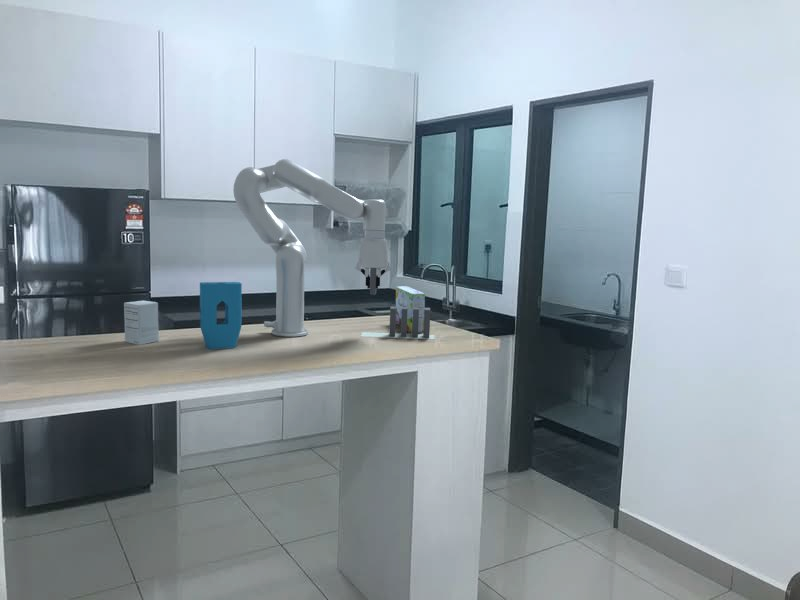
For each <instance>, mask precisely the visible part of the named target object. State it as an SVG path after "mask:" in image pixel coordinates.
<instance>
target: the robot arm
mask: <svg viewBox="0 0 800 600" xmlns="http://www.w3.org/2000/svg"><path fill="white" fill-rule="evenodd" d="M285 187H286V188H288V189H289V190H292V191H294V192H295V193H296V194H299V195H301V196H302V197H304V198H306V199H308V200H310V201H312V202H313V203H316V204H318V205H321V206H322V207H325V208H327V209H328V210H331V211H332V212H334V213H335V214H338V216H341V217H342V218H345V219H346V220H350V221H358V220H363V226H362V227H363V230H362V231H358V236H361V237H362V238H361V239H360V241H359V248H358V249H359V250H358V261H357V264H356V266H355V267H354V269H355V270H356V271H358V272H361V274H363V275H364V277H365V286H366V288H367V289H370V268H377V277H376V290H377V289H378V288H379V287H380V286H381V277H382V276H383V275H384V274H385V273H388V272H390V271H391V270H392V268H391V265H390V262H389V247H388V239H386V213H387V212H386V210H387V208H386V204H387V203H386V201H385V200H383V199H374V198H373V199H372V198H371V199H359V198H356V197H355V196H352V195H351V194H349V193H347V192H346V191H343V190H342V189H340V188H339V187H336V186H335V185H333V184H331V183H330V182H329V181H327V180H326V179H325V178H323V177H321V176H319V175H317V174H316V173H314V172H312V171H310V170H309V169H307V168H304V167H303V166H302V165H299V164H297V163H296V162H295V161H292V160H290V159H288V158H287V159H285V158H283V159H279V160H278V161H277V162H275V164H273V165H268V166H264V167H260V168H259V167H258V168H257V167H252V166H248V167H245V168H242V169H241V171H239V172H238V174H237V175H236V178H235V180H234V183H233V197H234V201H235V203H236V205H237V207H238V208H239V210H240V211H241V213H242V214H243V216H244V217H245V218H246V220H247V221H248V223H249V224H250V226H251V227H252V228H253V229H254V231H255V233H256V234H257V236H258V237H259V239H260V240H261V241H262V242H263V243H264V244H265V245H268V246H270V248H271V249H272V250H273V252H274V253H275V254H276V256H275V272H276V273H275V274H276V275H275V276H276V288H275V289H276V295H275V296H276V297H275V298H276V303H275V305H276V307H275V308H276V309H275V310H276V311H275V312H276V314H275V315H276V316H275V317H276V318H275V320H273V321H263V325H264V327H265V328H272V330H271V335H274V336H276V337H287V338H288V337H291V338H292V337H303V336H307V335H308V334H309V330H308V329H306V328H304V327H305V324H304V323H305V322H304V321H305V320H304V319H305V317H304V316H305V263H306V261H307V259H308V258H307V257H308V254H307V251H306V249H305V246H304V245H303V244H302V242H301V241H300V240H299V238H298V237H297V235H296V234H295V233H294V232H293V231H292V229H291V228H290V226H289V225H288V224H287V223H286V221H284V220H283V219H281V218H280V217H277V216H276V215H275V214H274V212H273V211H272V210H271V208H270V207H269V205H268V204H267V203H266V201H265V200H264V199H263V197H262V196H261V194H262V193H266V192H271V191H275V190H278V189H282V188H285Z"/></svg>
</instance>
